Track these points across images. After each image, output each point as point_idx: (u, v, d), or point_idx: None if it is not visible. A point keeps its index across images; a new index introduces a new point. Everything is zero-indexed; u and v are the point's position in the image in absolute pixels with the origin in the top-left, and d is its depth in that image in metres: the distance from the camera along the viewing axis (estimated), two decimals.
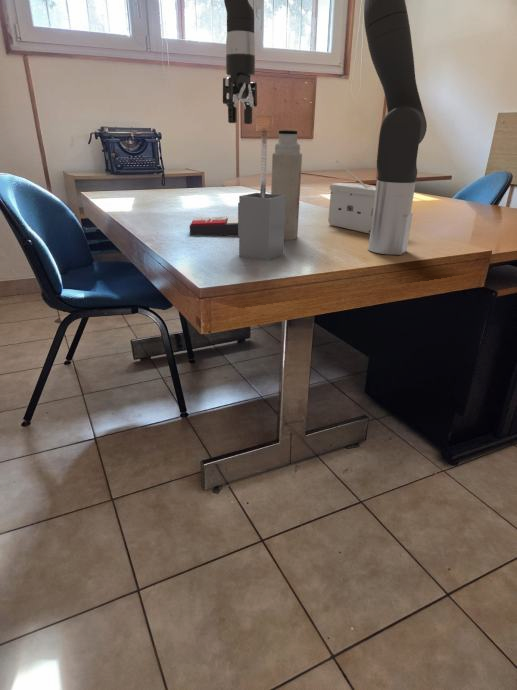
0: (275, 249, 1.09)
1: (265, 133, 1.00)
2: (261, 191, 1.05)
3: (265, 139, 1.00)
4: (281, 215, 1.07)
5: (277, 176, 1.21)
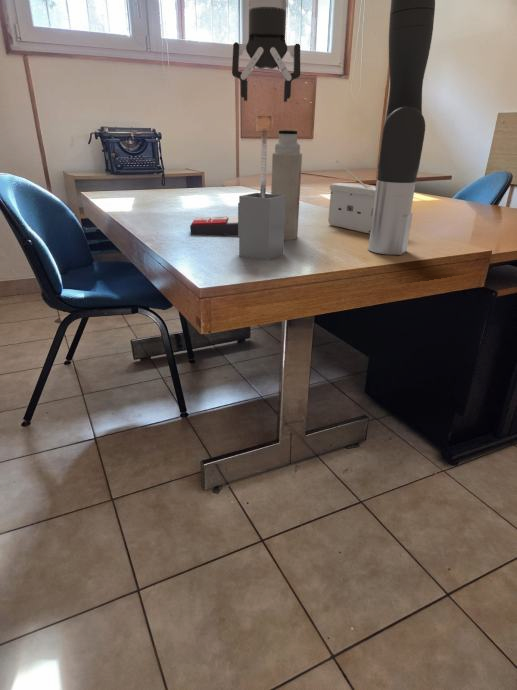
0: (275, 249, 1.09)
1: (265, 133, 1.00)
2: (261, 191, 1.05)
3: (265, 139, 1.00)
4: (281, 215, 1.07)
5: (277, 176, 1.21)
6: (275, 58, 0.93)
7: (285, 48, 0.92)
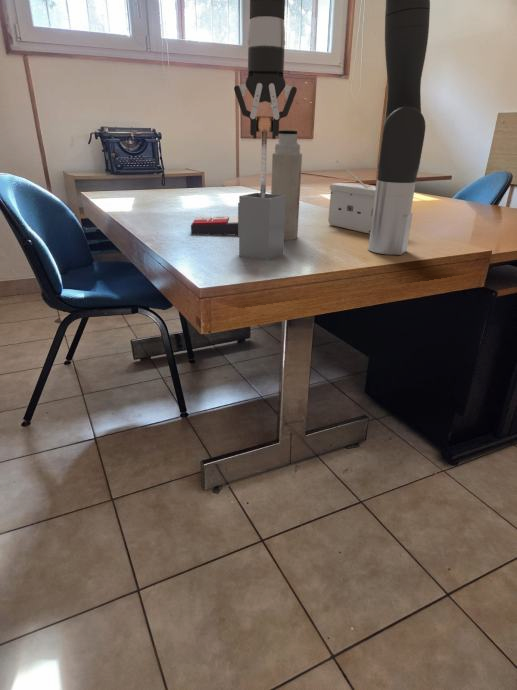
0: (275, 249, 1.09)
1: (265, 133, 1.00)
2: (261, 192, 1.05)
3: (265, 139, 1.00)
4: (281, 215, 1.07)
5: (277, 176, 1.21)
6: (271, 94, 0.95)
7: (283, 85, 0.95)
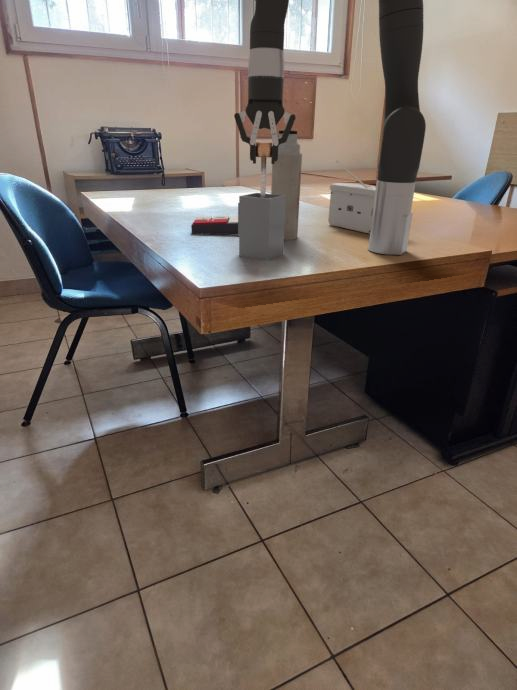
0: (275, 249, 1.09)
1: (264, 158, 1.02)
2: None
3: (264, 164, 1.02)
4: (281, 215, 1.07)
5: (277, 176, 1.21)
6: (270, 121, 0.97)
7: (282, 113, 0.97)
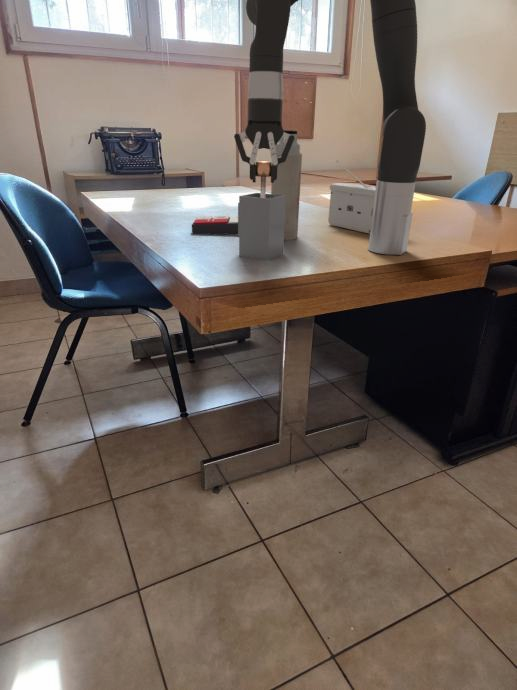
0: (275, 249, 1.09)
1: (264, 177, 1.03)
2: None
3: (264, 183, 1.04)
4: (281, 215, 1.07)
5: (277, 176, 1.21)
6: (269, 142, 0.99)
7: (281, 133, 0.99)
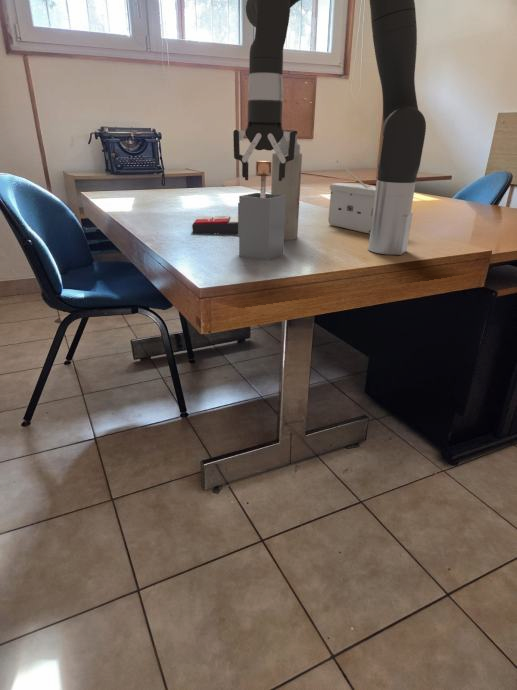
0: (275, 249, 1.09)
1: (264, 177, 1.03)
2: None
3: (264, 182, 1.04)
4: (281, 215, 1.07)
5: (277, 176, 1.21)
6: (272, 143, 0.99)
7: (281, 134, 0.99)
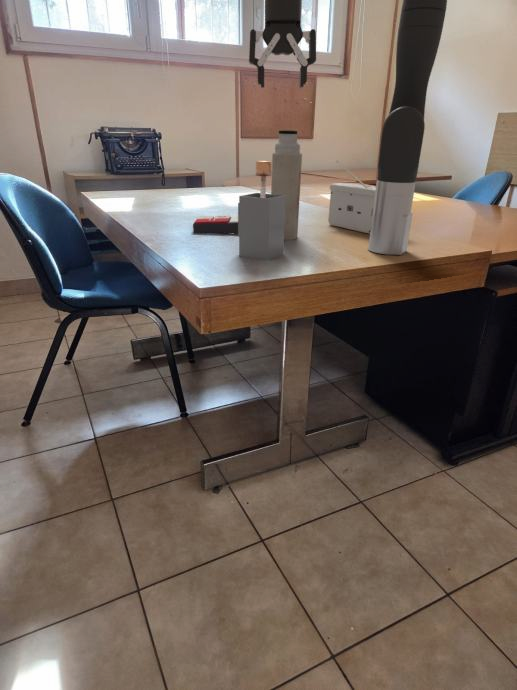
0: (275, 249, 1.09)
1: (264, 177, 1.03)
2: None
3: (264, 182, 1.04)
4: (281, 215, 1.07)
5: (277, 176, 1.21)
6: (291, 44, 0.94)
7: (301, 34, 0.94)
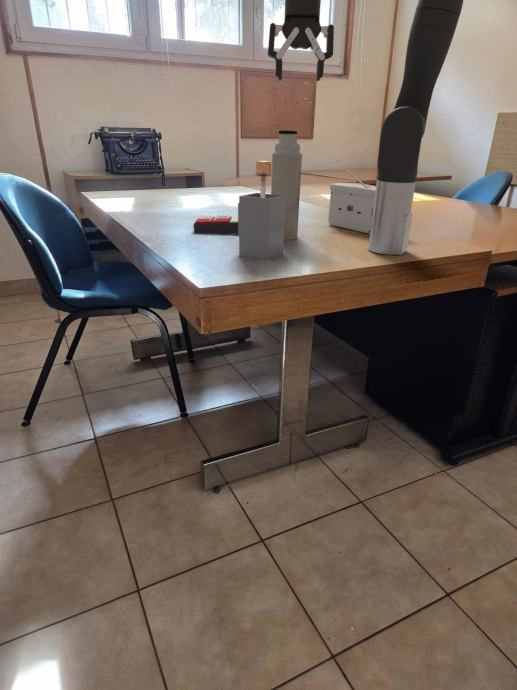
0: (275, 249, 1.09)
1: (264, 177, 1.03)
2: None
3: (264, 182, 1.04)
4: (281, 215, 1.07)
5: (277, 176, 1.21)
6: (310, 38, 0.97)
7: (319, 29, 0.97)
